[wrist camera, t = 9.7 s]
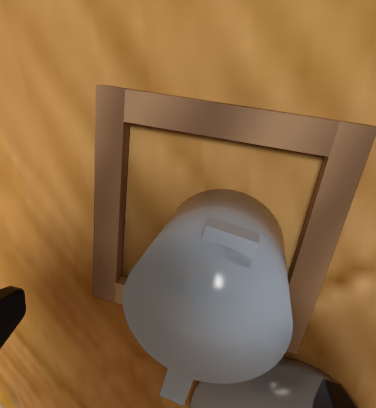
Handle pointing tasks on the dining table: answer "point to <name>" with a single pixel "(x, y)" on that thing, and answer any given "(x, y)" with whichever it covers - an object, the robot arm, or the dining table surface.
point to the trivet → (265, 389)
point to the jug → (212, 293)
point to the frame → (237, 131)
